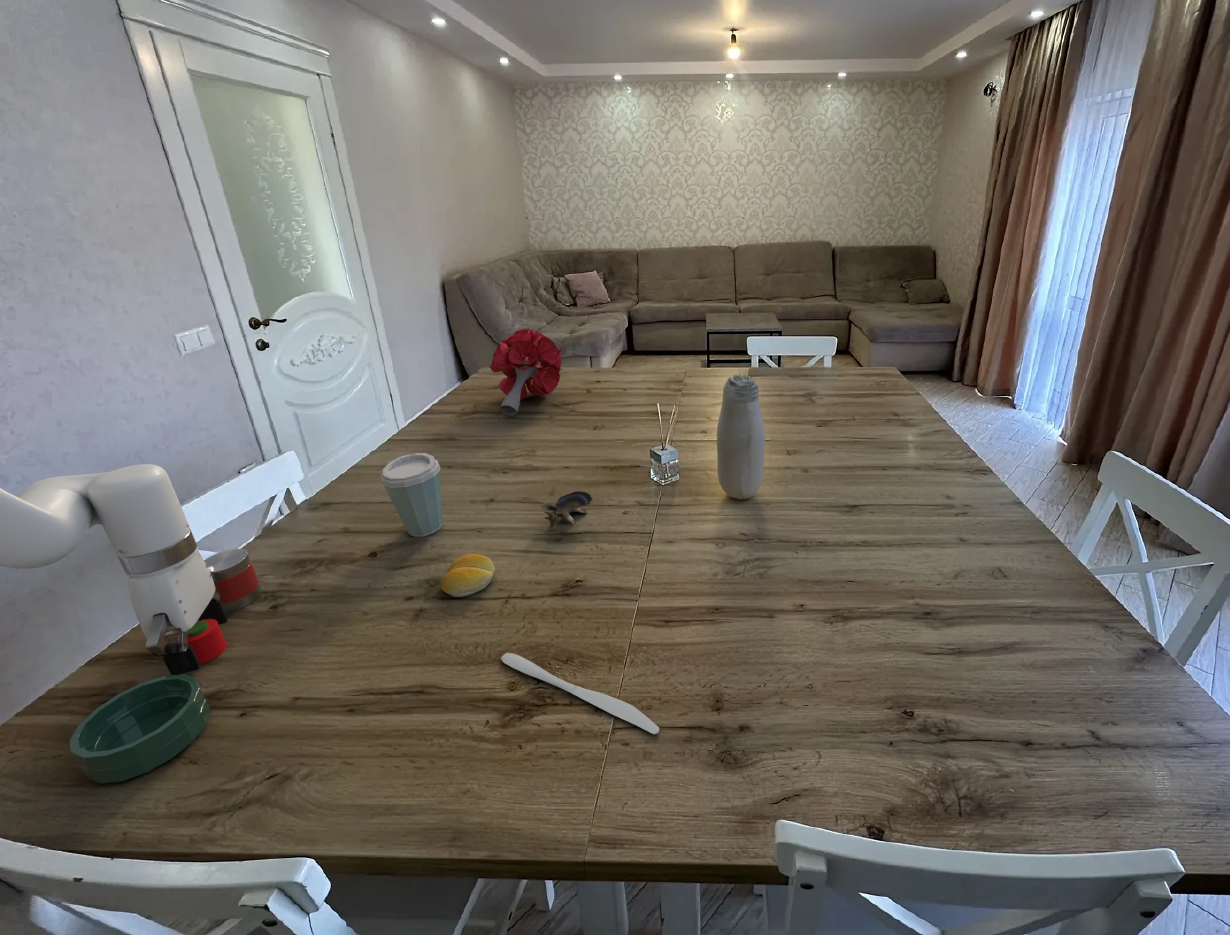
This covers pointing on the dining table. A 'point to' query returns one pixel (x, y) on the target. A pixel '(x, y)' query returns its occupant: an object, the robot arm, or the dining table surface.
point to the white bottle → (740, 438)
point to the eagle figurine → (567, 506)
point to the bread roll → (468, 575)
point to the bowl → (140, 728)
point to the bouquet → (526, 367)
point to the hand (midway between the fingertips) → (201, 646)
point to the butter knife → (584, 693)
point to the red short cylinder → (206, 640)
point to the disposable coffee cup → (415, 492)
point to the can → (234, 578)
